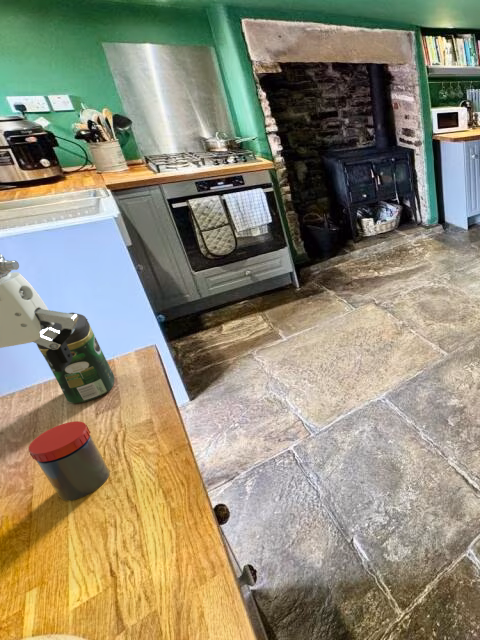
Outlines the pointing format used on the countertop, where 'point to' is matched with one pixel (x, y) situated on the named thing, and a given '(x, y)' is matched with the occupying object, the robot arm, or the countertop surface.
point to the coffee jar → (82, 365)
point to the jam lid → (59, 441)
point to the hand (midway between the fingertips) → (22, 374)
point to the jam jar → (77, 472)
